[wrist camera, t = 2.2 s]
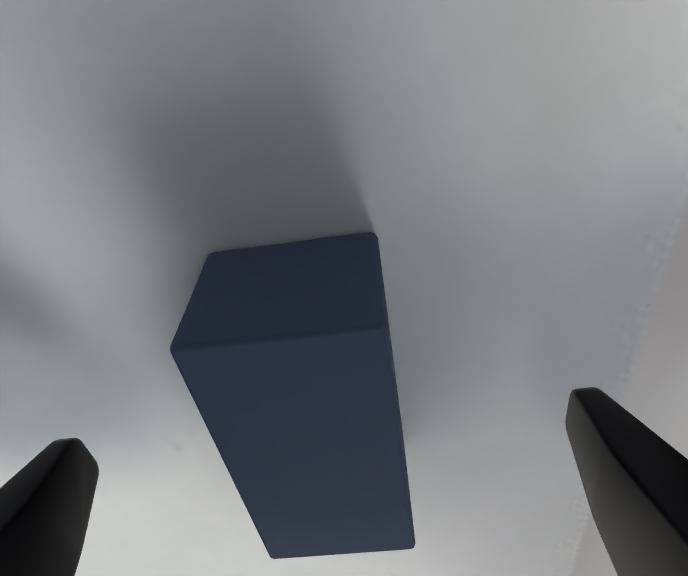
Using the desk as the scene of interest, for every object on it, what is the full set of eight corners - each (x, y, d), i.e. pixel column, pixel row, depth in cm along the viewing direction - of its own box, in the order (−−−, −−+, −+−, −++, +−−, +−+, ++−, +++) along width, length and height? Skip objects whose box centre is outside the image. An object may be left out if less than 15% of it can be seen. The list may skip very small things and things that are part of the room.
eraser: (404, 445, 12) (415, 550, 10) (282, 456, 12) (270, 561, 10) (376, 229, 8) (387, 324, 6) (207, 251, 9) (165, 348, 7)
